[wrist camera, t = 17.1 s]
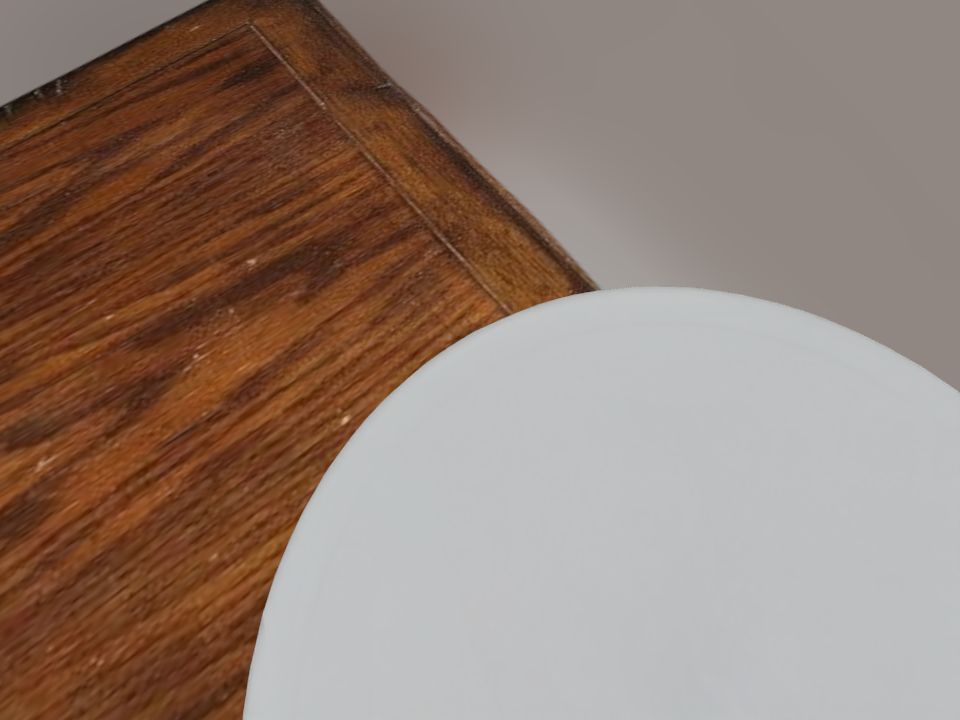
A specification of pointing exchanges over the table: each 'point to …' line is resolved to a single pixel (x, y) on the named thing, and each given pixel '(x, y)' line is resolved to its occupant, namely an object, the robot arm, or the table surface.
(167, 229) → the table surface
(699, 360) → the supplement tub
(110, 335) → the table surface
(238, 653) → the table surface
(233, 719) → the table surface
